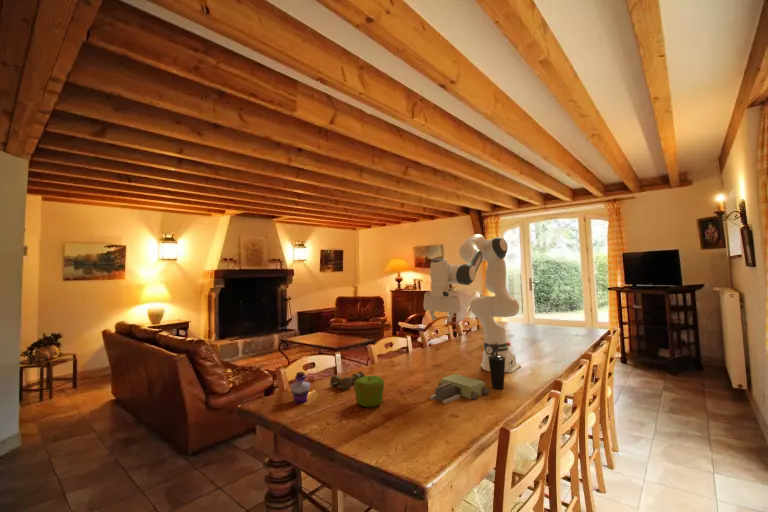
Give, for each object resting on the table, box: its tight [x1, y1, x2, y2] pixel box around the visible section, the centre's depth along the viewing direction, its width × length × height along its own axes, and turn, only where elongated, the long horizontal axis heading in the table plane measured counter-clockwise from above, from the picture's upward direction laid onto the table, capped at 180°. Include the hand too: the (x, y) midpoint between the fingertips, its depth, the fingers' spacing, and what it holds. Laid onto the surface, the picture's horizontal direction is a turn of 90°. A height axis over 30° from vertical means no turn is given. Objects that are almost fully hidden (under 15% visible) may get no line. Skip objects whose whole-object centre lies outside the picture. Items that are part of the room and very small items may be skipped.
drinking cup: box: [488, 343, 506, 391], centre depth 156 cm, size 8×8×20 cm
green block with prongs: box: [429, 373, 490, 405], centre depth 149 cm, size 22×19×5 cm
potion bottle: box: [290, 371, 311, 405], centre depth 146 cm, size 9×9×12 cm
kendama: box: [329, 371, 366, 392], centre depth 164 cm, size 6×10×20 cm
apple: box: [353, 375, 385, 408], centre depth 140 cm, size 12×12×11 cm
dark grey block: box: [434, 383, 456, 403], centre depth 145 cm, size 8×4×6 cm, turn 131°
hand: (441, 321), depth 165 cm, fingers open, 8 cm apart
